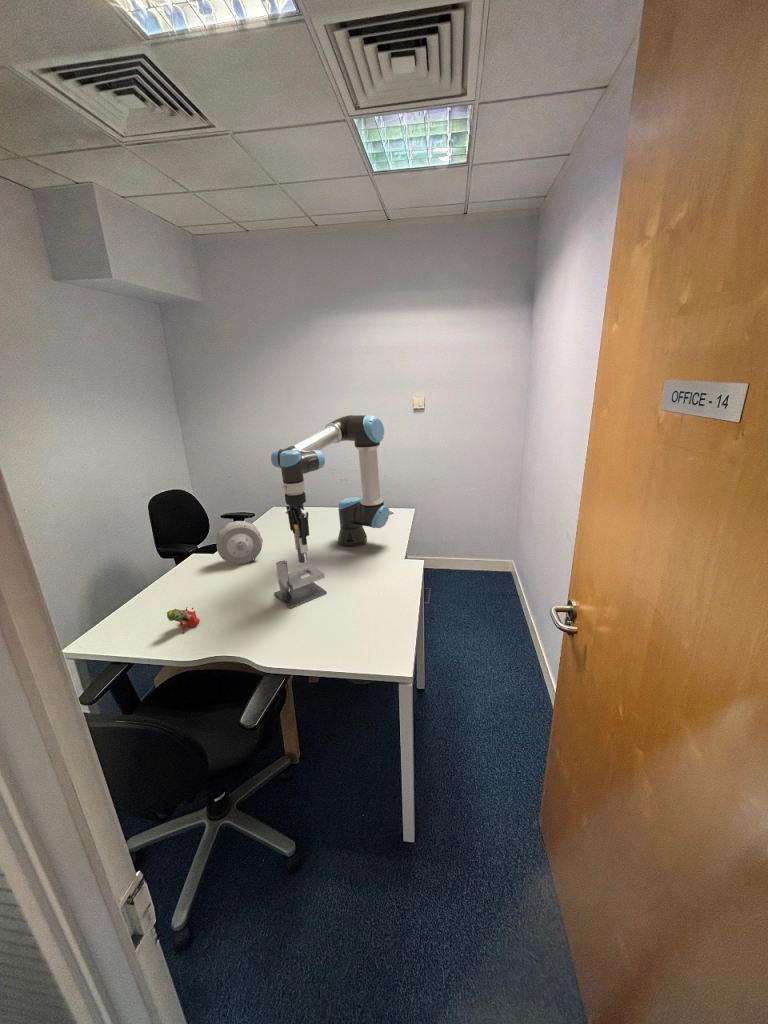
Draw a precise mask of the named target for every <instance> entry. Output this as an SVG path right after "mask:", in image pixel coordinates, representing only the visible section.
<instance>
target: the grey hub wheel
mask: <svg viewBox="0 0 768 1024" xmlns="http://www.w3.org/2000/svg"><path fill="white" fill-rule="evenodd" d="M215 542H216V549H217V553H218V555H219V557H220V558H221V559H222V560H223V561H224V562H227V563H228V564H230V565H235V566H236V565H237V566H238V565H246V564H249V563H251V562H253V561H254V560H255V559H256V558H257V557H258V556H259V554H261V551H262V549H263V537H262V536H261V533H260V531H259V529H258V528H257V527H256V526H255V525H254V524H252V523H251V522H248V521H245V520H235V521H231V522H228V523H227V524H225V525H224V526H222V528H221V529H220V530H219V532H218V533H217V536H216V541H215Z"/></svg>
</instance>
